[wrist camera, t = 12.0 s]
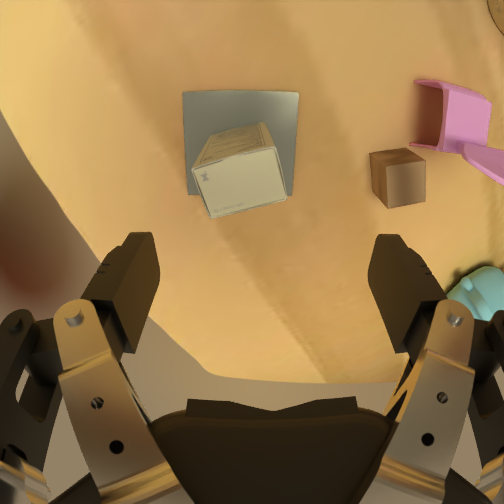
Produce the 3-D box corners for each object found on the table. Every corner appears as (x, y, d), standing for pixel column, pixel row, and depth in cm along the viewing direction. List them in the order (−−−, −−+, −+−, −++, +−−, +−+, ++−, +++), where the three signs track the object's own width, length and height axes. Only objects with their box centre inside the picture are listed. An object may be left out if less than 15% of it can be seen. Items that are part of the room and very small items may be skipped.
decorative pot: (473, 321, 50) (500, 369, 39) (419, 325, 49) (445, 383, 38) (509, 260, 41) (547, 307, 30) (457, 254, 40) (501, 312, 29)
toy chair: (460, 87, 26) (547, 115, 14) (453, 151, 31) (530, 202, 19) (406, 74, 26) (494, 92, 14) (401, 144, 31) (477, 197, 19)
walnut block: (405, 147, 31) (425, 160, 27) (407, 184, 34) (425, 201, 30) (369, 152, 32) (385, 166, 28) (372, 190, 35) (387, 209, 31)
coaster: (298, 92, 28) (298, 92, 28) (291, 193, 35) (291, 195, 35) (183, 91, 28) (182, 92, 28) (188, 192, 35) (187, 195, 34)
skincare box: (220, 170, 33) (207, 222, 23) (208, 133, 30) (187, 169, 20) (276, 156, 32) (289, 203, 22) (266, 118, 29) (275, 145, 19)
